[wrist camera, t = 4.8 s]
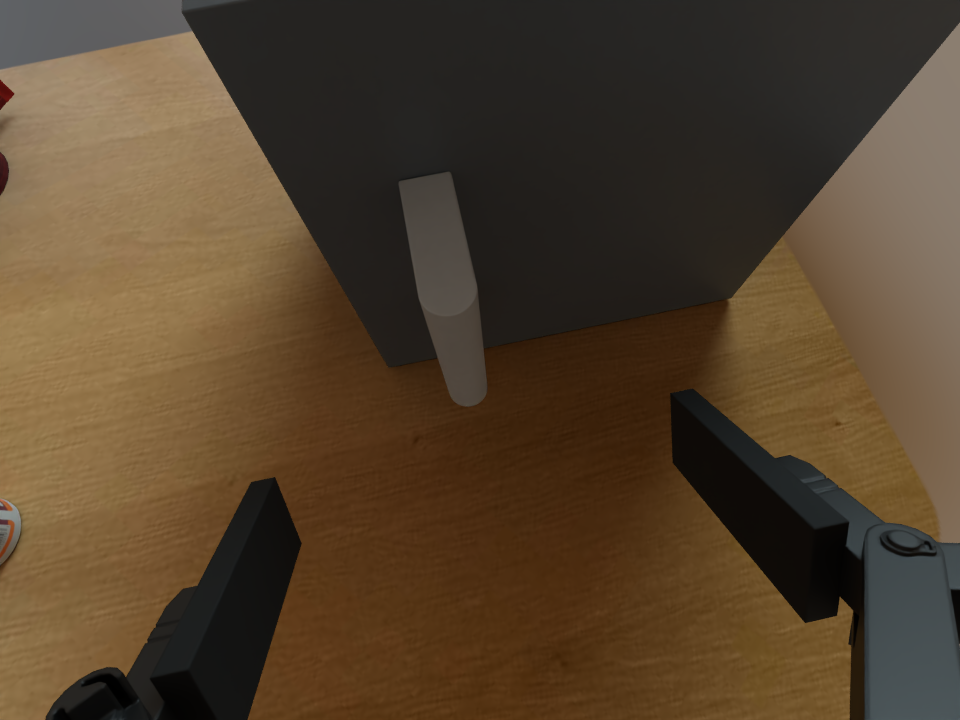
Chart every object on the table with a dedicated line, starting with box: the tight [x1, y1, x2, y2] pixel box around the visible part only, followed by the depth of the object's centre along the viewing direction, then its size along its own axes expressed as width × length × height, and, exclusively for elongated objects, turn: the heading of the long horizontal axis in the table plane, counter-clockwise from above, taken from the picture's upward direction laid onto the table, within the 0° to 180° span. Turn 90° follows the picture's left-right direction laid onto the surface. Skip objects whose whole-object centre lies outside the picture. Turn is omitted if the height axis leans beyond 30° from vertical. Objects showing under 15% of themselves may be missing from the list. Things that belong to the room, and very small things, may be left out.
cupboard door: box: [182, 0, 960, 407], centre depth 23 cm, size 7×24×24 cm, turn 101°
